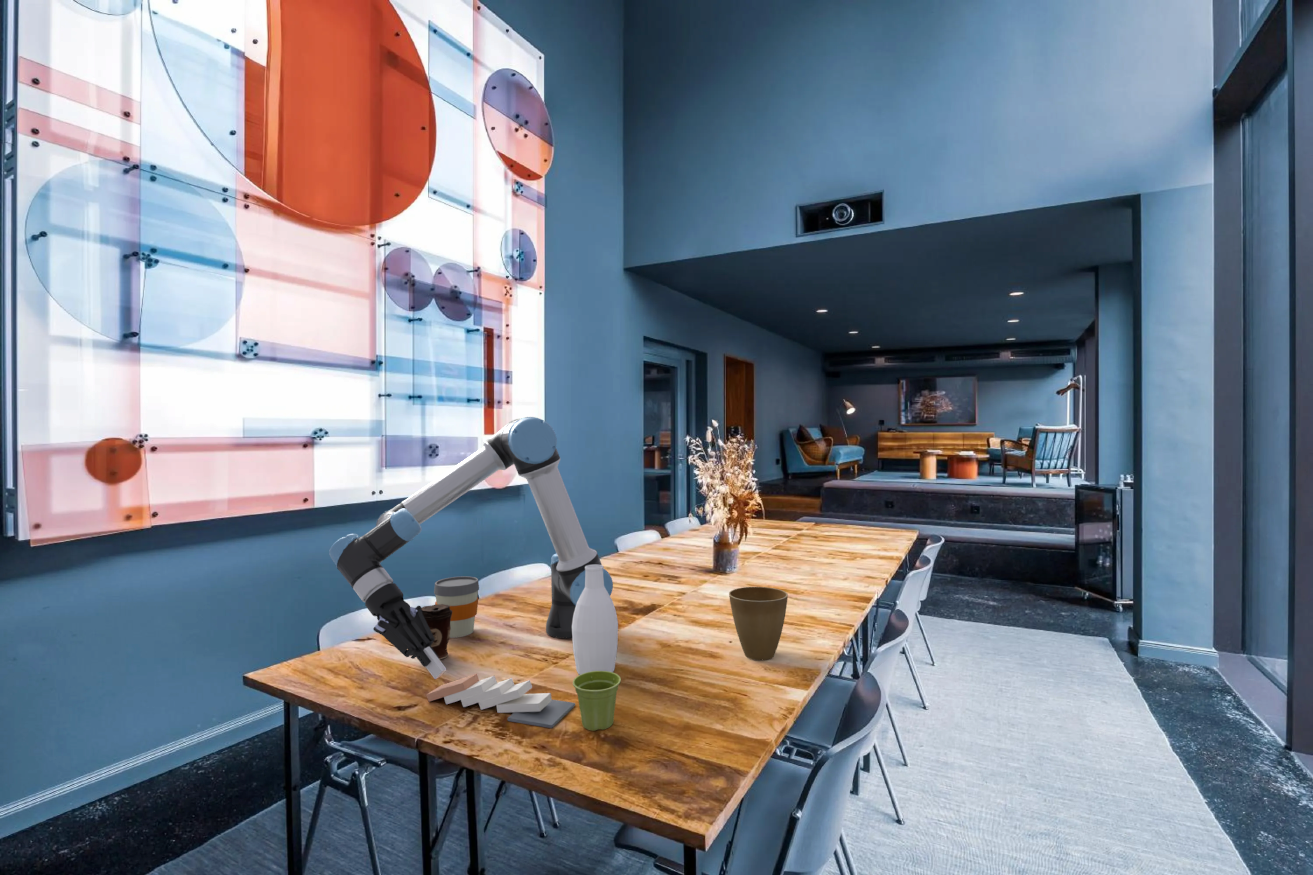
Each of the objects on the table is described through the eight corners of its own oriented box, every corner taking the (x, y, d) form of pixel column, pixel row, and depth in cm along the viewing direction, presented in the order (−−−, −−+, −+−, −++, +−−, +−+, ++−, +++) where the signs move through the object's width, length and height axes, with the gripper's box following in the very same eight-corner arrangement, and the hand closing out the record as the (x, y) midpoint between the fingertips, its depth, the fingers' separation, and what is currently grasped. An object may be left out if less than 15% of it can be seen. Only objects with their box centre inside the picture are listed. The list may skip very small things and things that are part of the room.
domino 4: (478, 702, 123) (517, 689, 120) (492, 692, 127) (529, 679, 125) (481, 709, 122) (520, 697, 120) (494, 699, 127) (532, 687, 124)
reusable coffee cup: (471, 639, 166) (470, 586, 166) (427, 639, 166) (426, 586, 166) (485, 625, 178) (484, 575, 178) (444, 625, 178) (443, 576, 178)
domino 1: (426, 694, 127) (462, 682, 124) (441, 684, 132) (476, 673, 129) (428, 701, 127) (465, 689, 124) (443, 691, 132) (479, 680, 129)
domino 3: (460, 699, 124) (498, 687, 121) (474, 690, 129) (511, 677, 126) (463, 707, 124) (501, 694, 121) (477, 697, 129) (514, 684, 126)
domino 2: (443, 697, 125) (480, 684, 123) (458, 687, 130) (494, 675, 127) (446, 704, 125) (483, 692, 122) (460, 694, 130) (496, 682, 127)
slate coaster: (507, 720, 118) (507, 717, 118) (533, 699, 127) (533, 696, 127) (551, 728, 114) (551, 724, 114) (575, 705, 124) (575, 702, 124)
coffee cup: (440, 664, 148) (439, 612, 148) (410, 662, 149) (409, 611, 149) (458, 651, 156) (457, 603, 156) (430, 649, 158) (429, 601, 158)
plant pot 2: (799, 653, 151) (798, 591, 151) (768, 671, 140) (767, 604, 140) (750, 640, 161) (750, 582, 161) (718, 656, 151) (717, 593, 151)
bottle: (599, 659, 150) (597, 559, 150) (628, 671, 142) (626, 565, 142) (563, 671, 142) (561, 566, 142) (591, 685, 134) (590, 573, 134)
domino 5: (496, 704, 121) (538, 703, 118) (509, 694, 126) (550, 692, 123) (497, 712, 121) (540, 711, 118) (510, 702, 126) (551, 700, 123)
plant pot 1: (602, 740, 109) (601, 694, 109) (563, 727, 114) (562, 683, 114) (630, 719, 117) (630, 676, 117) (593, 708, 122) (592, 667, 122)
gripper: (391, 596, 141) (450, 673, 136) (347, 611, 129) (409, 697, 124) (409, 575, 140) (469, 652, 134) (365, 589, 127) (430, 675, 122)
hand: (440, 674), depth 129 cm, fingers closed
